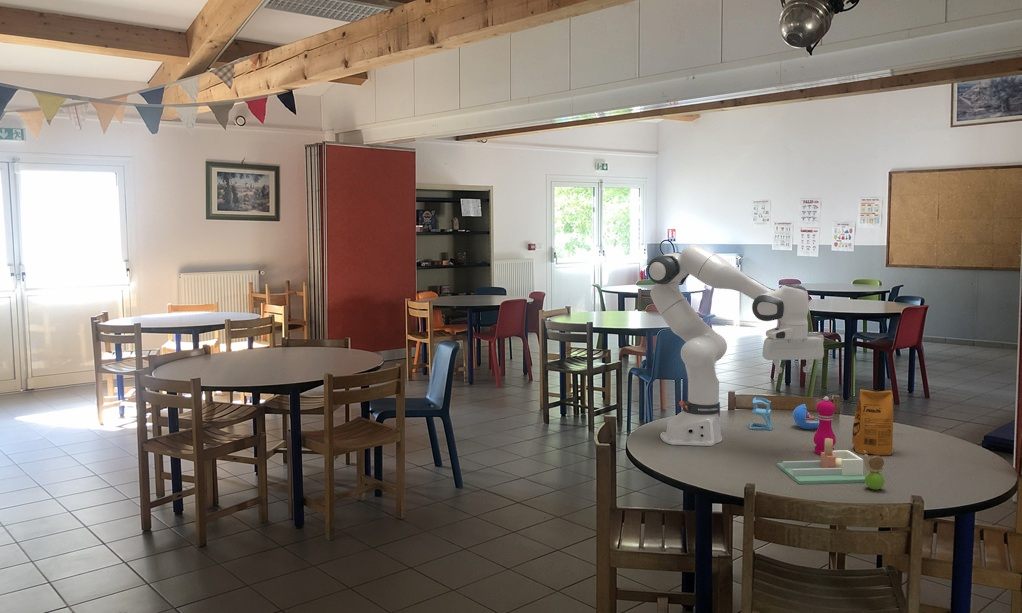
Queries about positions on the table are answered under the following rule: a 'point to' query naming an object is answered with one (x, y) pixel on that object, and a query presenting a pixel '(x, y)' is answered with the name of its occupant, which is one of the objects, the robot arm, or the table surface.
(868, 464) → the snail figurine
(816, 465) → the pitch
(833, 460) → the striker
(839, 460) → the ball
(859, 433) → the coffee package
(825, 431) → the pepper mill
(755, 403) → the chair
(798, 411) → the cell model
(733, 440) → the table surface
